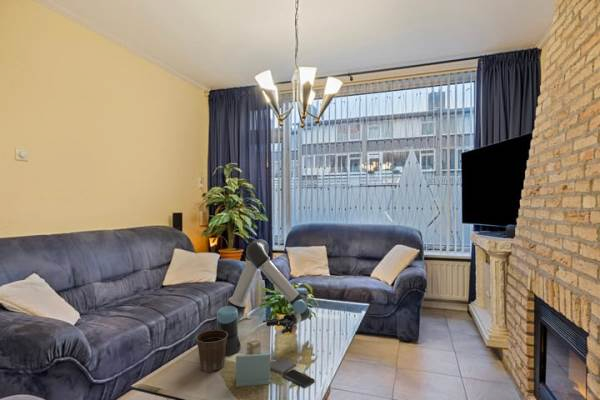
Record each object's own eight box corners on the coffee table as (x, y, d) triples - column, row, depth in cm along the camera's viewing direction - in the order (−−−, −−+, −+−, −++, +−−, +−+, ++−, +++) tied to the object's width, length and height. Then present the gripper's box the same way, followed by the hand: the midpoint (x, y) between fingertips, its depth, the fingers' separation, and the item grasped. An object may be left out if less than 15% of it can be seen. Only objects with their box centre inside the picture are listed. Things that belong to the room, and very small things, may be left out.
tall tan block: (246, 369, 175) (246, 342, 175) (253, 365, 180) (253, 338, 179) (253, 372, 172) (253, 344, 172) (260, 368, 177) (260, 341, 176)
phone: (304, 386, 158) (282, 374, 169) (304, 388, 158) (282, 377, 169) (315, 379, 164) (293, 368, 174) (315, 382, 164) (293, 371, 174)
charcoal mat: (266, 367, 177) (266, 365, 177) (279, 359, 186) (279, 357, 186) (282, 374, 171) (282, 372, 171) (296, 365, 179) (296, 363, 179)
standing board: (236, 380, 165) (236, 353, 165) (269, 378, 167) (269, 351, 167) (235, 386, 160) (235, 358, 160) (270, 383, 162) (270, 356, 162)
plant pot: (190, 373, 171) (190, 341, 171) (203, 358, 187) (203, 328, 187) (221, 375, 169) (221, 343, 169) (232, 360, 185) (232, 330, 185)
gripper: (309, 330, 193) (285, 343, 176) (275, 321, 208) (250, 332, 191) (309, 316, 193) (285, 329, 176) (275, 308, 208) (250, 319, 191)
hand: (267, 331), depth 184 cm, fingers open, 13 cm apart
